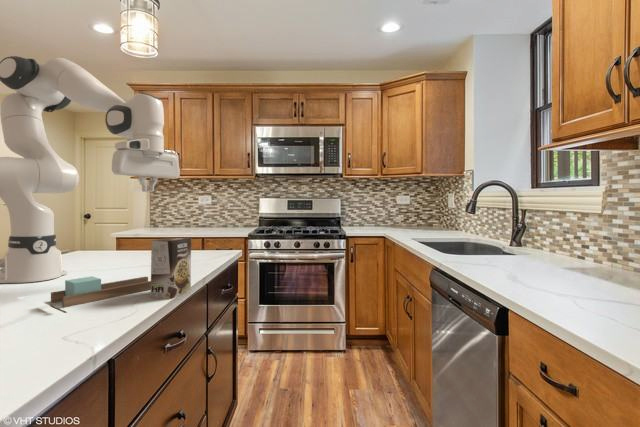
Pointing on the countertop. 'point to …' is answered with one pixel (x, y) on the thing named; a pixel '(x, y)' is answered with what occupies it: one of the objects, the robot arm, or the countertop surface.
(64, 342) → the countertop surface
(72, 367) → the countertop surface
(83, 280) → the block
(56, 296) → the chute
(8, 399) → the countertop surface
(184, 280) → the coffee box
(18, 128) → the robot arm
